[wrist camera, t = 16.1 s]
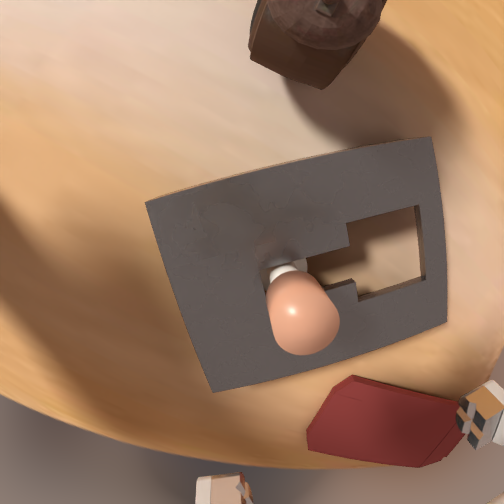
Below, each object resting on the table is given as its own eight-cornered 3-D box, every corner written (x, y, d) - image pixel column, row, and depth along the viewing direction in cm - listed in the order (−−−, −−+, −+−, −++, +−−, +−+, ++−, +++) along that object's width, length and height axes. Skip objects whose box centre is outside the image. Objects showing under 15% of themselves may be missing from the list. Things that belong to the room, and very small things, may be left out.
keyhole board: (423, 303, 33) (446, 321, 28) (214, 363, 33) (212, 392, 28) (403, 139, 28) (431, 136, 23) (159, 196, 28) (144, 202, 23)
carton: (298, 424, 41) (432, 450, 40) (298, 447, 36) (440, 469, 35) (337, 356, 38) (474, 394, 37) (343, 378, 33) (487, 412, 32)
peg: (247, 246, 30) (257, 301, 18) (298, 233, 30) (340, 278, 18) (260, 293, 31) (275, 368, 19) (308, 281, 31) (349, 347, 19)
